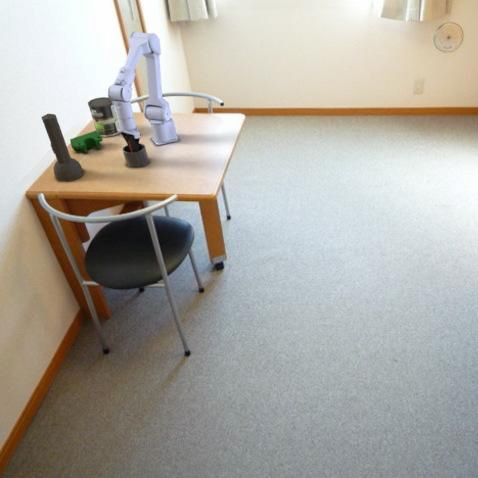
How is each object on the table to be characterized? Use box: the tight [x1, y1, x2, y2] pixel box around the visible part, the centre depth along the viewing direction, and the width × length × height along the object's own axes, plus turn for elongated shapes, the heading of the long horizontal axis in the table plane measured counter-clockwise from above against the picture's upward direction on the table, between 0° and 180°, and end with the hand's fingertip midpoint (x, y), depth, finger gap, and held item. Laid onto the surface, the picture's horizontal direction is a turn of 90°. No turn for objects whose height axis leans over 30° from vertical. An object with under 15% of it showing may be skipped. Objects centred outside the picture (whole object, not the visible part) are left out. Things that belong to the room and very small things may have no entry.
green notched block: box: [69, 130, 103, 155], centre depth 203 cm, size 12×6×9 cm, turn 130°
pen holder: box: [122, 142, 149, 169], centre depth 194 cm, size 8×8×6 cm
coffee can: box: [87, 96, 120, 138], centre depth 214 cm, size 10×10×14 cm
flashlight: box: [41, 113, 84, 182], centre depth 181 cm, size 10×25×10 cm
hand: (134, 149), depth 192 cm, fingers closed on marker, 3 cm apart
